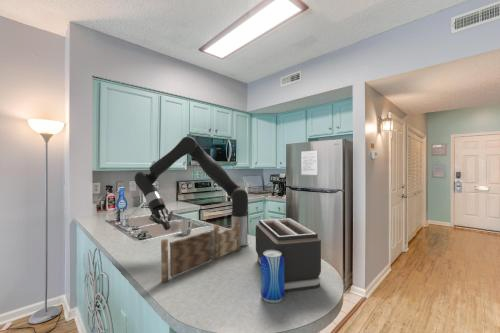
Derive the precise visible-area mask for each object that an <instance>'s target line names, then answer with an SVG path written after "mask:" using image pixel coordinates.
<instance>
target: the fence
mask: <svg viewBox="0 0 500 333" xmlns="http://www.w3.org/2000/svg"><path fill="white" fill-rule="evenodd" d="M213 230H214V260H215V261H218V260H220V257H222V256H224V255H227V254H230V253H231V252H233V251H235V252H239V251H240V250H241V249H240V247H241V246H240V234H239V219H235V227H233V228H232V227H231V228H228V229H224V230H222V231H220V225H219V224H214V225H213ZM160 247H161V248H160V249H161V250H160V253H161V255H160V257H161V258H160V260H161V262H160V263H161V283H162V284H166V283H169V239H167V238H165V239H161V240H160Z"/></svg>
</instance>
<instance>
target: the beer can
mask: <svg viewBox="0 0 500 333" xmlns="http://www.w3.org/2000/svg"><path fill="white" fill-rule="evenodd" d="M260 296H261V297H262V298H263V300H264V301H265V302H267V303H269V302H270V303H271V304H276V303H281V301H282V300H283V298H284V297H285V292H284V258H283V257H282V253H281V252H280V251H277V250H267V251H264V252H263V256H262V257H261V266H260Z"/></svg>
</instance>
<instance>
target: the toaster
mask: <svg viewBox="0 0 500 333" xmlns="http://www.w3.org/2000/svg"><path fill="white" fill-rule="evenodd" d="M318 234H319V233H317V232H315V231H314V230H311V229H310V228H308V227H307V226H304V225H303V224H301V223H299V222H297V221H296V220H294V219H293V218H289V217H287V218H273V219H259V220H258V224H256V225H255V252H256V254H257V256H256V258H257V263H258V265H259V266H260V267H261V257H262V256H263V252H264V251H267V250H277V251H280V252H281V253H282V257H283V258H284V293H290V291H292V292H297V291H306V290H312V289H313V290H314V289H317V288H319V287H320V286H321V277H320V275H321V272H322V239H321V238H320V237H318V236H319V235H318Z"/></svg>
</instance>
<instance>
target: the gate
mask: <svg viewBox="0 0 500 333" xmlns="http://www.w3.org/2000/svg"><path fill="white" fill-rule="evenodd" d="M169 253H170V254H169V257H170V258H169V260H170V262H169V266H170V267H169V268H170V270H169V271H170V272H169V273H170V274H169V276H170V277H172V278H174V277H176V276H179V275H180V274H182V273H184V272H187V271H189V270H192V269H193V268H197V267H199V266H201V265H203V264H206V263H208V262H210V261H213V260H214V229H213V230H212V229H211V230H210V231H205V232H201V233H198V234H194V235H191V236H187V237H185V238H181V239H178V240H174V241H171V242H169Z"/></svg>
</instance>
